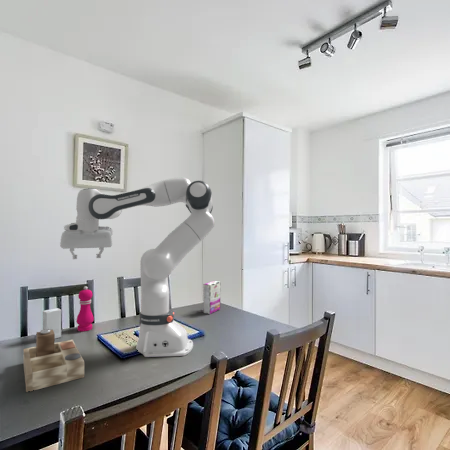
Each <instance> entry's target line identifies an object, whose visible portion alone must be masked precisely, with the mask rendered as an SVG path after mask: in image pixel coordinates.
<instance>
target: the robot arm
mask: <svg viewBox="0 0 450 450" xmlns="http://www.w3.org/2000/svg"><path fill="white" fill-rule="evenodd" d="M177 203H184V204H185V206H186V207H185V208H187V210H188V212H189V213H190V215H189V216H188V217H187V218H186V219H184V220H183V221H182V223H180V224H178V226H176V227H175V228H174V229H173V230H172V231H171V232H169V234H168V235H167V236H166V237H165V238H164V239H163V240H162V241H161V242H160V243H159V244H158V245H157V246H156V248H150V249H148V250H146V251H144V253H142V255H141V257H140V261H139V262H140V269H139V270H140V312H139V316H138V317H139V319H138V323H139V332H138V333H139V335H138V339H137V342H136V347H135V350H136V349H137V350H138V351H137V350H136V351H137V352H139V353H140V354H142V355H143V356H144V357H145V358H151V357H152V358H154V357H156V358H158V357H179V356H183V357H184V356H187V355H188V354H190V353H191V351H192V350H193V348H194V342H193V340H192V339H189V337H188V332H187V330H186V328H185V327H183V326H182V325H181V324H179V323H178V322H176V321H175V320H174V319H175V312H174V311H173V312H171V310H170V288H169V287H170V286H169V276H170V274H171V273H172V272H173V271H174V270H175V269H176V267H177V266H179V265H180V263H181V262H182V260H183V259H184V258H185V257H186V256H187V255H188V254H189V253H190V252H191V251H192V250H193V249H195V247H197V245H198V244H200V243H201V242H202V241H203V240H204V239H206V237H207V236H208V235H209V234H210V232H211V231H212V230H213V228H214V227H215V223H216V221H215V218H214V216H213V215H212V211H213V194H212V189H211V188H210V185H209V184H208V183H206V182H205V181H203V180H194V181H191V180H190V179H188V178H187V177H174V178H168V179H163V180H160V181H157V182H154V183H151V184H149V185H147V186H144V187H142V188H139V189H136V190H132V191H128V192H123V193H120V194H115V195H113V194H112V195H110V194H105V193H103V192H101V191H99V190H98V189H97V188H92V187H91V188H89V187H88V188H83V189H81V190H79V191H78V193H77V197H76V204H75V205H76V209H75V210H76V214H77V215H76V218H75V222H71V223H69V224H65V225H64V226H63V230H64V231H63V232H62V233H61V236H60V242H59V245H60V248H61V249H63V250H65V249H66V250H67V249H69V252H70V253H71V255H72V260H77V259H78V254H75V249H96V248H99V252H98V253H96V256H95V258H96V259H101V258H102V253H103V252H104V248H111V247H112V246H113V237H112V236H113V229H112V228H111V227H110V226H100V225H99V224H100V223H99V220H113V219H116V218H118V217H119V216H120V215H122V212H123V210H127V209H129V208H130V209H131V208H134V207H138V206H146V207H147V206H149V207H167V206H171V205H173V204H177Z"/></svg>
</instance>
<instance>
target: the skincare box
mask: <svg viewBox="0 0 450 450" xmlns="http://www.w3.org/2000/svg"><path fill="white" fill-rule="evenodd" d="M43 329H51V330H53V331H54V334H55V339H58V338H61V337H62V309H60V308H58V307H56V308H51V309H46V310H42V330H43Z"/></svg>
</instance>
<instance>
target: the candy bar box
mask: <svg viewBox="0 0 450 450" xmlns="http://www.w3.org/2000/svg"><path fill="white" fill-rule="evenodd" d="M202 288H203V290H202V291H203V295H202V297H203V308H202V309H203V314H209V315H212V314H214V313H216V312H219V311H220V310H221V281H218V280H217V281H216V280H213V281H209V282H207V283H203V287H202Z"/></svg>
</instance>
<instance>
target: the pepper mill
mask: <svg viewBox="0 0 450 450" xmlns="http://www.w3.org/2000/svg"><path fill="white" fill-rule="evenodd" d="M93 295H94V294H93V292H92V290H90V289H89V287H88V286H85V285H84V287H83V289H81V290H80V291H79V293H78V296H77V298H78V299H79V305H80V309H79V312H78V315H77V316H76V324H77V331H78V332H87V331H92V329H93V322H94V321H95V320H94V315H93V312H92V309H91V303H92V298H93Z"/></svg>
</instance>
